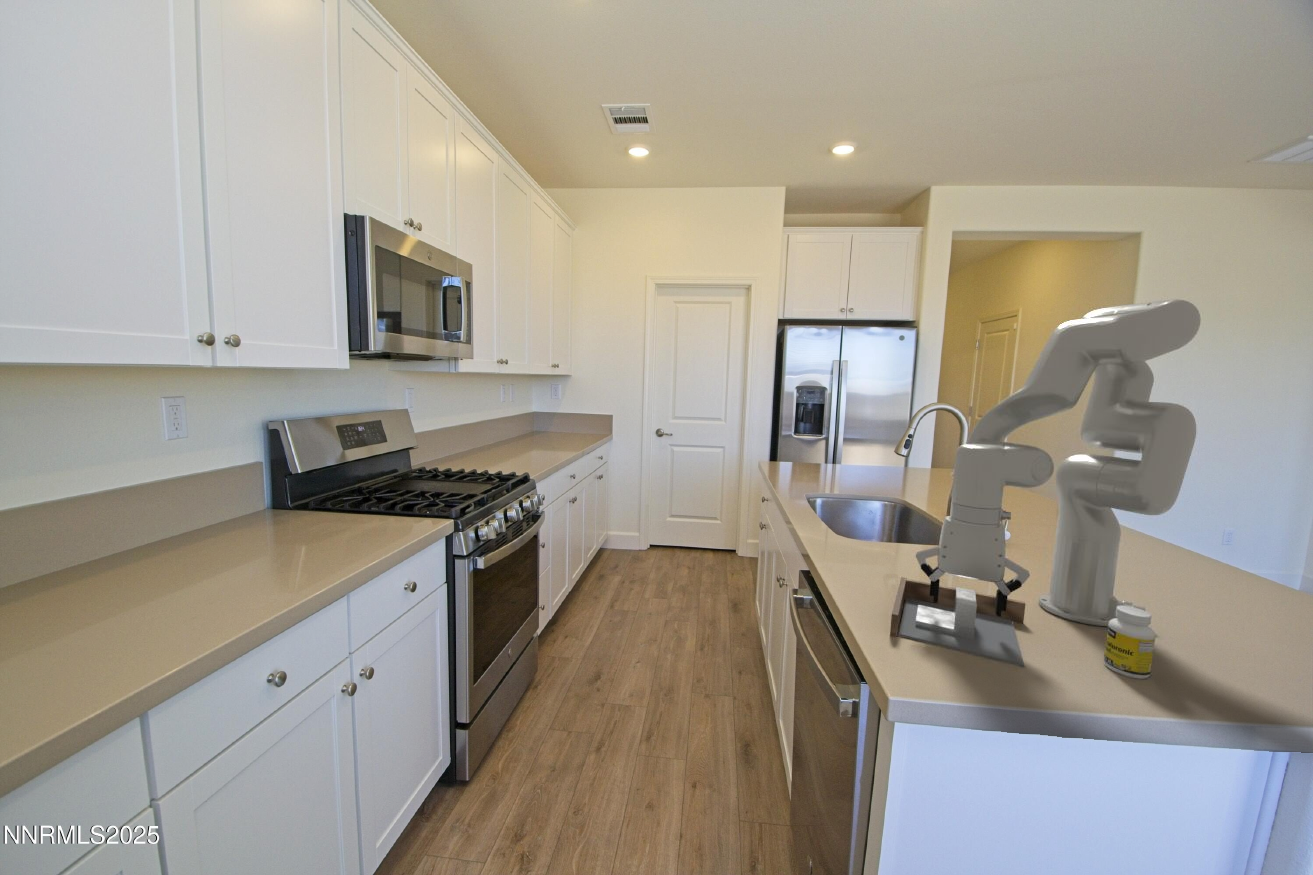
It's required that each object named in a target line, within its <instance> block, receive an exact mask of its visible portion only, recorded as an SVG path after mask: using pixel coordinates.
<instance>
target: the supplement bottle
mask: <svg viewBox="0 0 1313 875" xmlns="http://www.w3.org/2000/svg"><path fill="white" fill-rule="evenodd" d="M1116 616H1117V618H1114V619H1112V620H1110V621H1109V625H1108V626H1107V632H1106V639H1105V641H1106V642H1105V649H1104V654H1103V655H1104V656H1103V663H1104V665H1105V666H1106V667H1107V668H1109V669H1110V670H1111V671H1113V672H1114V673H1118V674H1120V675H1122V676H1124V677H1129V678H1133V679H1141V680H1143V679H1147V678H1149V677H1150V675H1151V671H1152V663H1153V657H1154V655H1153V654H1154V648H1155V641H1156V632H1155V630H1154V629H1153V628H1152V627H1150V625H1151V623H1152V614H1151V613H1150V612H1148V611H1147V610H1146V611H1144V610H1142V609H1138V608H1135V607H1130V606H1117V609H1116Z"/></svg>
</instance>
